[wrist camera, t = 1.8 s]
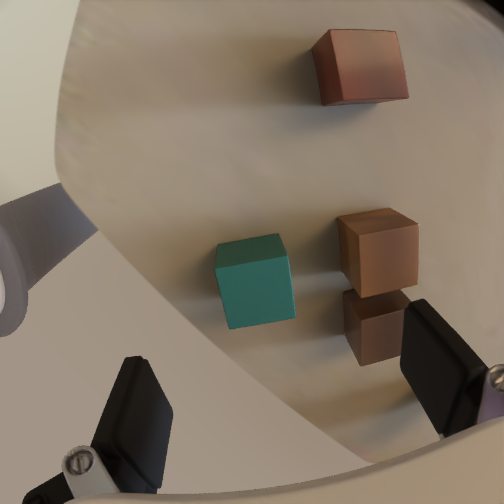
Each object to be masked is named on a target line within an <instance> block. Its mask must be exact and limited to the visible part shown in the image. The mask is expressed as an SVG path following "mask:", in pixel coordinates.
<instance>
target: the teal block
mask: <svg viewBox="0 0 504 504" xmlns="http://www.w3.org/2000/svg"><path fill="white" fill-rule="evenodd" d="M214 271H215V275H216V279H217V283H218V287H219V291H220V295H221V299H222V303H223V307H224V311H225V315H226V319H227V323H228V327H229V329H236V328H242V327H248V326H254V325H259V324H265V323H271V322H276V321H281V320H287V319H292V318H296V311H295V303H294V295H293V288H292V281H291V273H290V266H289V259H288V255H287V252H286V250H285V248H284V245H283V243H282V240H281V238H280V236H279V234H278V233H277V234H272V235H266V236H261V237H255V238H250V239H244V240H239V241H233V242H228V243H223V244H218V247H217V254H216V261H215V268H214Z"/></svg>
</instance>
